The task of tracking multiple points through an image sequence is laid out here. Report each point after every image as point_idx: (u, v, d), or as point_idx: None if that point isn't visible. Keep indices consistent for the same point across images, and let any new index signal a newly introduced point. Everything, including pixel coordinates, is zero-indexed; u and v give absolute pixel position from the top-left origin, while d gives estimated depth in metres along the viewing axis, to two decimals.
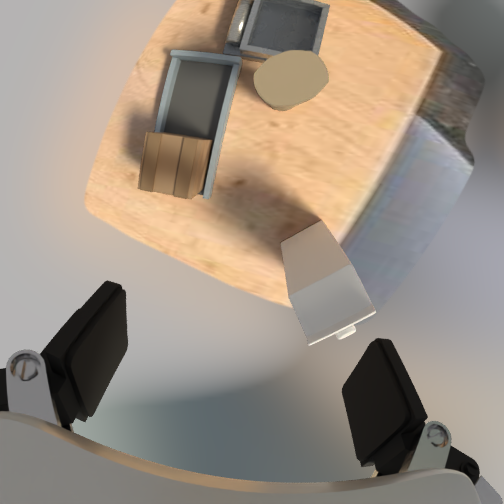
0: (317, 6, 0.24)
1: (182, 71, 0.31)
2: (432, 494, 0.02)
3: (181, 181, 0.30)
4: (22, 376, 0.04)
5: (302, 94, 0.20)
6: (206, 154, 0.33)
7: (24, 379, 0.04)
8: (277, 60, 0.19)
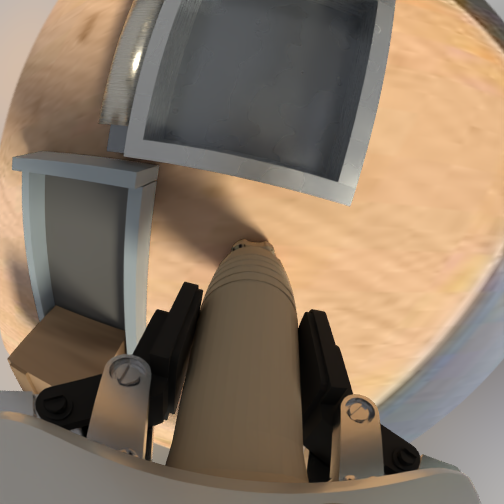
0: None
1: (50, 191, 0.14)
2: (432, 494, 0.02)
3: None
4: (120, 379, 0.06)
5: None
6: None
7: (122, 382, 0.06)
8: None
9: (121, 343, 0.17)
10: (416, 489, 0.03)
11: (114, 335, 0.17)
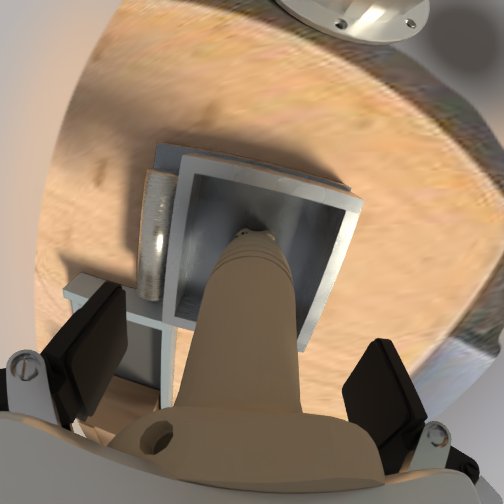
0: (332, 205, 0.14)
1: None
2: (432, 494, 0.02)
3: None
4: (22, 376, 0.04)
5: None
6: None
7: (24, 379, 0.04)
8: None
9: (157, 399, 0.24)
10: (416, 489, 0.03)
11: (151, 394, 0.24)
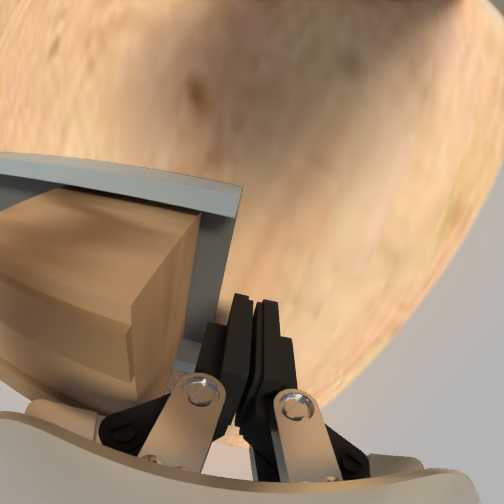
0: None
1: None
2: (432, 494, 0.02)
3: (59, 337, 0.05)
4: (191, 396, 0.06)
5: None
6: (60, 205, 0.08)
7: (192, 400, 0.06)
8: None
9: (52, 190, 0.10)
10: (416, 489, 0.03)
11: None
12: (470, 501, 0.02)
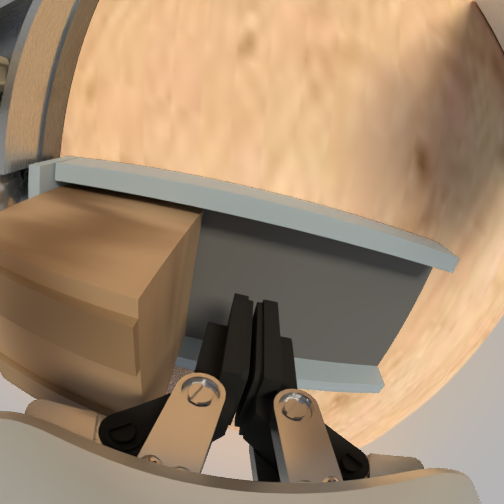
0: None
1: None
2: (432, 494, 0.02)
3: (65, 332, 0.05)
4: (191, 396, 0.06)
5: None
6: (64, 203, 0.09)
7: (192, 400, 0.06)
8: None
9: (55, 189, 0.10)
10: (416, 489, 0.03)
11: None
12: (470, 501, 0.02)
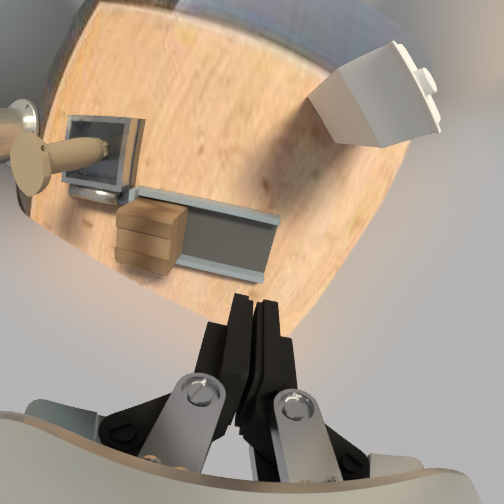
0: (71, 126, 0.28)
1: None
2: (432, 494, 0.02)
3: (155, 230, 0.30)
4: (191, 396, 0.06)
5: (34, 153, 0.18)
6: (145, 203, 0.33)
7: (191, 400, 0.06)
8: (18, 178, 0.19)
9: (138, 198, 0.34)
10: (416, 489, 0.03)
11: None
12: (470, 501, 0.02)
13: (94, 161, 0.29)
